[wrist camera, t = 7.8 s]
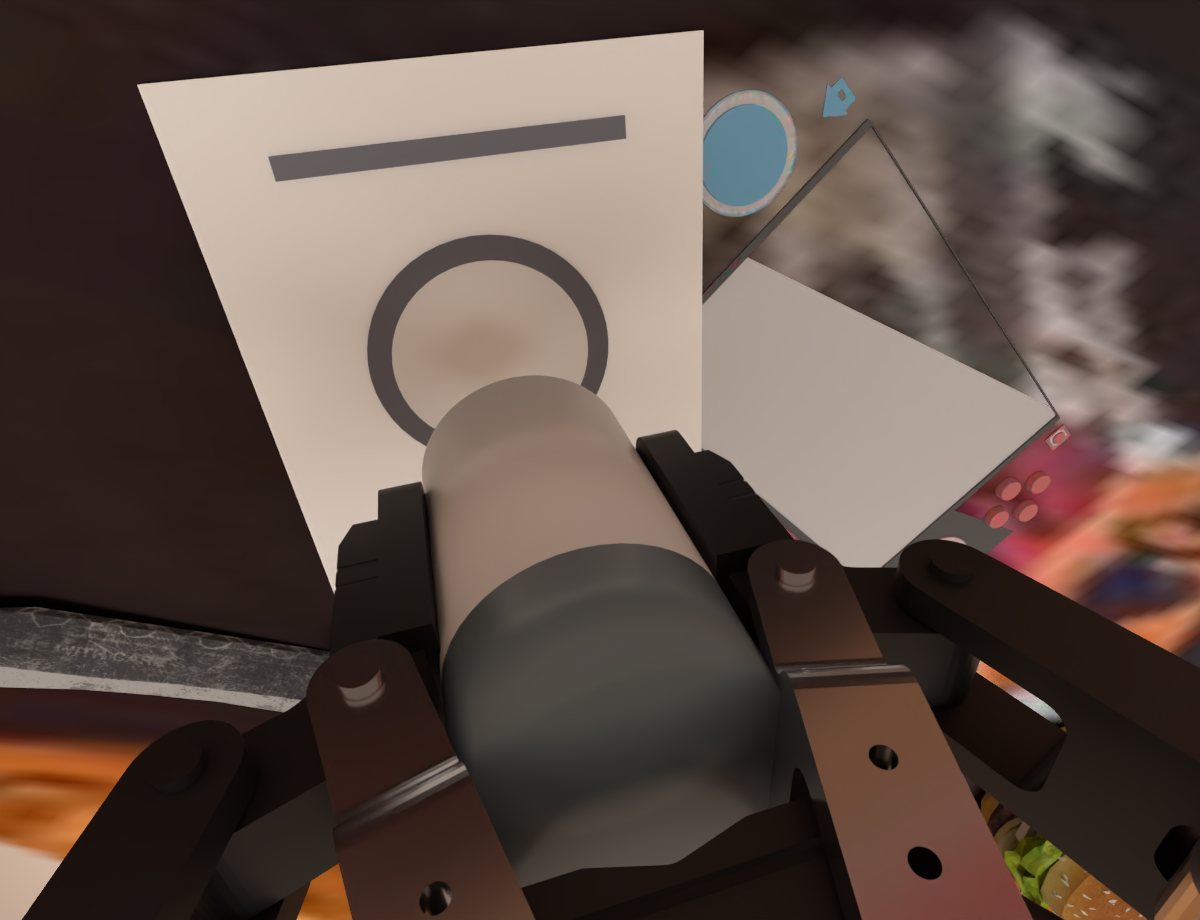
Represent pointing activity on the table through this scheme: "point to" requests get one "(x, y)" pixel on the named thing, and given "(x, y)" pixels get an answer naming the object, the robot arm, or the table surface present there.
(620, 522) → the beige capped tube
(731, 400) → the gaming console
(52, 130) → the table surface
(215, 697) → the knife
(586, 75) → the paper
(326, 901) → the table surface
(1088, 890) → the food
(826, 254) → the table surface
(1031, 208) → the table surface
